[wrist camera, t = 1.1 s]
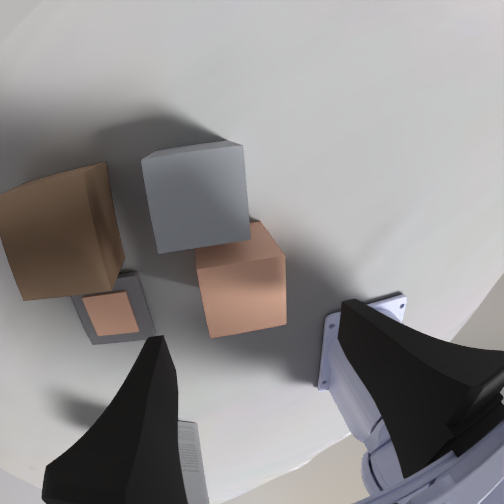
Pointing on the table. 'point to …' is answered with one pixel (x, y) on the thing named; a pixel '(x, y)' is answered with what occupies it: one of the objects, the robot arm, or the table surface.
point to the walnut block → (62, 234)
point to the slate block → (197, 195)
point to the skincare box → (192, 463)
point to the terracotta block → (243, 284)
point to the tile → (116, 312)
